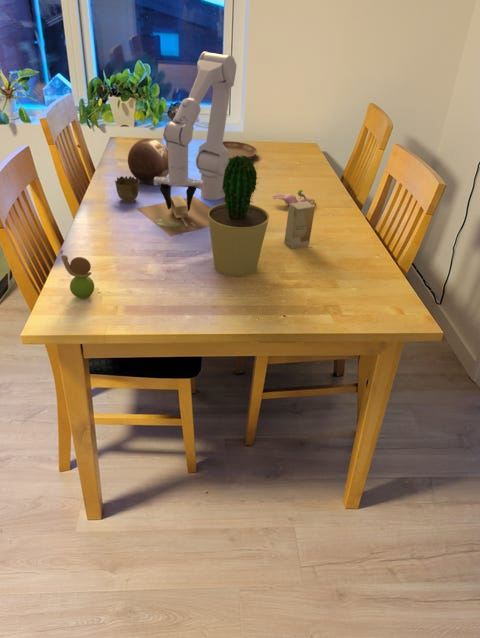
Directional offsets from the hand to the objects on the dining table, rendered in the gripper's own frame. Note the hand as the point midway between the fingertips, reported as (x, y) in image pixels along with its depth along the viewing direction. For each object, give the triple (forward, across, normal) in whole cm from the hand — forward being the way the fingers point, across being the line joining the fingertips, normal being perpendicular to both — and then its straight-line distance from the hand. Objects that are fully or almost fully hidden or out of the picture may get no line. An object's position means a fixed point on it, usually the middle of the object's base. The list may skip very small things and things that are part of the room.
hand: (178, 208), depth 159 cm
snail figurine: (+3, -14, -48) cm, 51 cm away
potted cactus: (+3, +20, -27) cm, 34 cm away
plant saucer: (+3, +10, +64) cm, 65 cm away
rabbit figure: (+3, +36, +18) cm, 40 cm away
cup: (+3, -18, +7) cm, 19 cm away
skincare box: (+3, +37, -11) cm, 38 cm away
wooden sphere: (+3, -15, +28) cm, 32 cm away
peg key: (+2, +1, -3) cm, 4 cm away
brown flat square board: (+3, +1, 0) cm, 3 cm away
